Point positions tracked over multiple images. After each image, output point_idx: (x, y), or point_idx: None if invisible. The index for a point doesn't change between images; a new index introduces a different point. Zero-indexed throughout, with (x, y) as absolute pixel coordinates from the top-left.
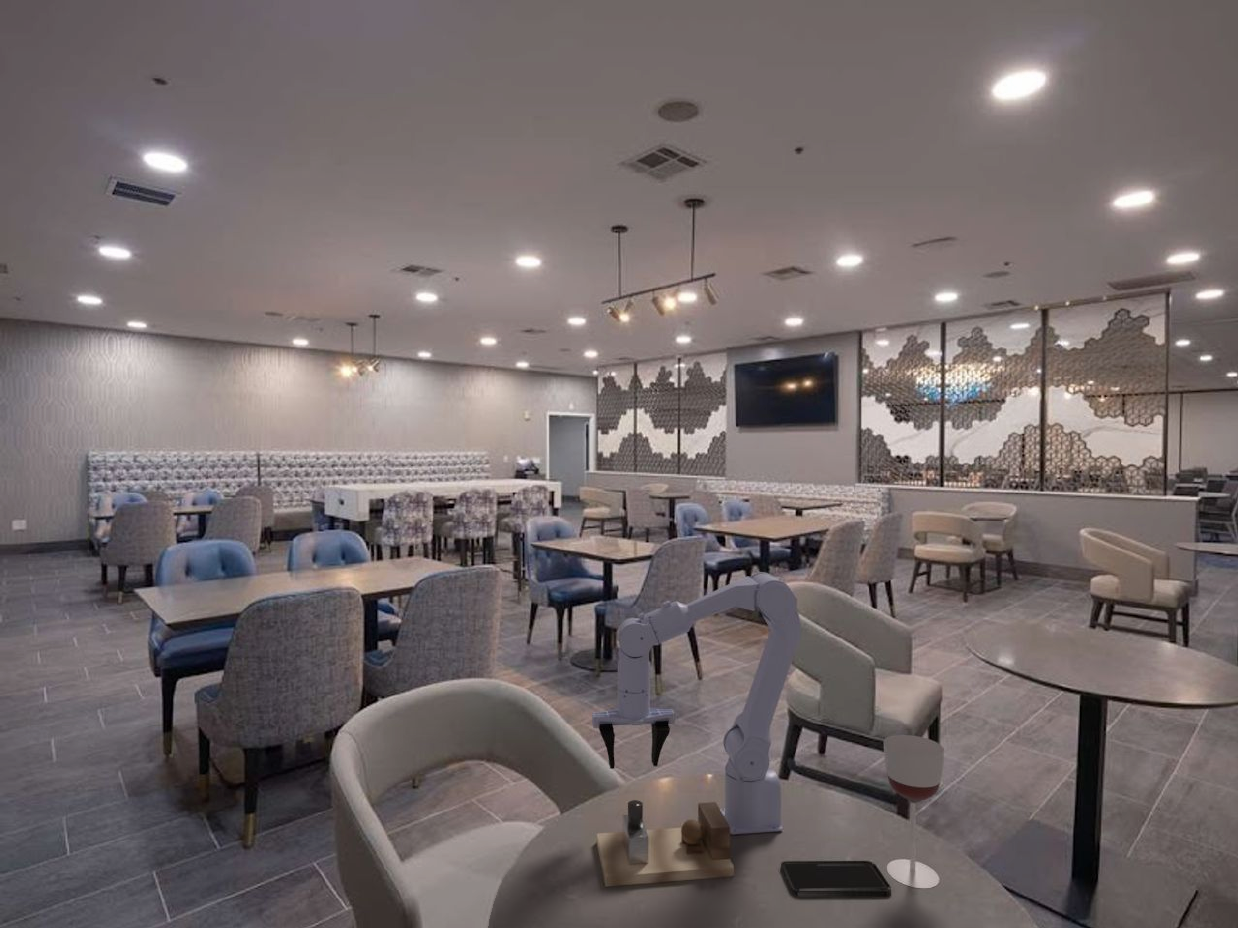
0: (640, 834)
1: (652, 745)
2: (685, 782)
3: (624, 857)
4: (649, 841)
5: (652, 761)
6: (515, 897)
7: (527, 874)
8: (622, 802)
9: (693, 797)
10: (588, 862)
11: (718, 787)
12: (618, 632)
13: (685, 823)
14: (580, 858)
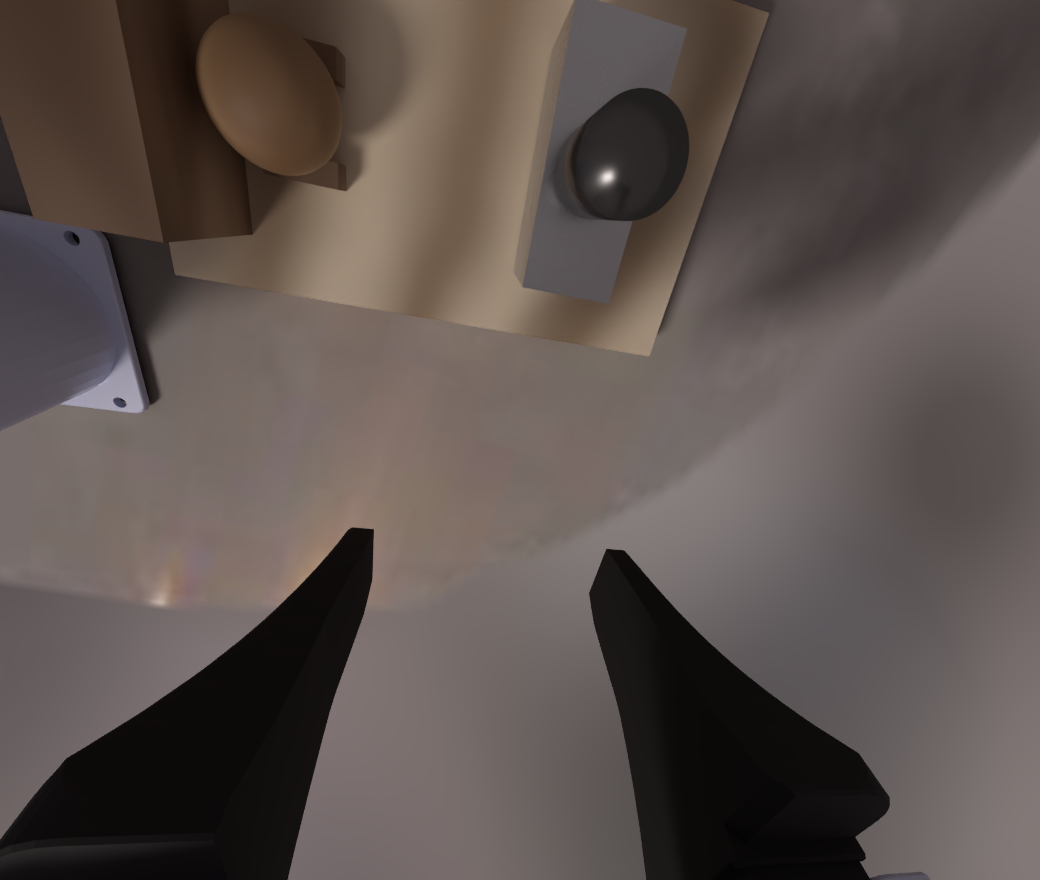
0: (607, 54)
1: (339, 668)
2: (249, 586)
3: None
4: (484, 239)
5: (370, 567)
6: (1035, 103)
7: (917, 235)
8: (477, 529)
9: (236, 510)
10: (716, 237)
11: (132, 544)
12: None
13: (296, 104)
14: (727, 271)
